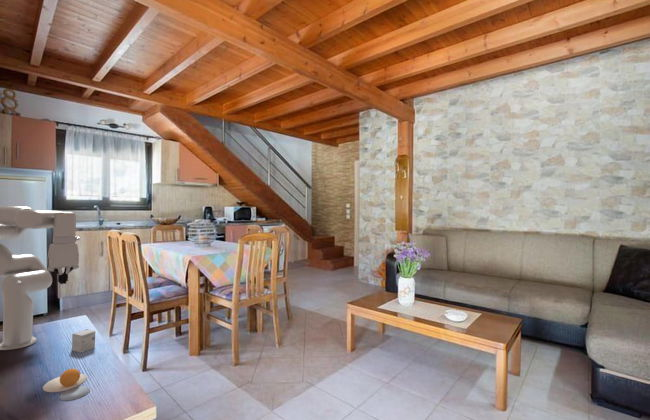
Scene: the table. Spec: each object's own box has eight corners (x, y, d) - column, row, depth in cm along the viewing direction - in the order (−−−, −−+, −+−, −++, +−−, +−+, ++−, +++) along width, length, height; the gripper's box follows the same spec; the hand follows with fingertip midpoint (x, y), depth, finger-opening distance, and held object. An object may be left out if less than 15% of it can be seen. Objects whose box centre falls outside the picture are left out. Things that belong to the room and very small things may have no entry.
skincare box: (80, 353, 136) (81, 335, 136) (71, 350, 138) (71, 333, 138) (95, 347, 142) (95, 330, 142) (86, 345, 144) (86, 328, 144)
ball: (63, 380, 107) (60, 393, 108) (83, 374, 111) (80, 386, 113) (59, 368, 110) (56, 380, 111) (78, 362, 114) (75, 374, 116)
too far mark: (56, 394, 106) (56, 393, 106) (85, 384, 112) (85, 383, 112) (63, 403, 101) (63, 403, 101) (93, 392, 107) (93, 392, 107)
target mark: (38, 383, 112) (38, 383, 112) (80, 370, 121) (80, 370, 121) (48, 396, 105) (48, 395, 105) (91, 381, 114) (91, 381, 114)
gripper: (82, 239, 145) (81, 279, 145) (39, 240, 133) (37, 284, 133) (88, 240, 141) (86, 282, 141) (43, 242, 129) (42, 287, 129)
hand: (62, 283), depth 137 cm, fingers closed
